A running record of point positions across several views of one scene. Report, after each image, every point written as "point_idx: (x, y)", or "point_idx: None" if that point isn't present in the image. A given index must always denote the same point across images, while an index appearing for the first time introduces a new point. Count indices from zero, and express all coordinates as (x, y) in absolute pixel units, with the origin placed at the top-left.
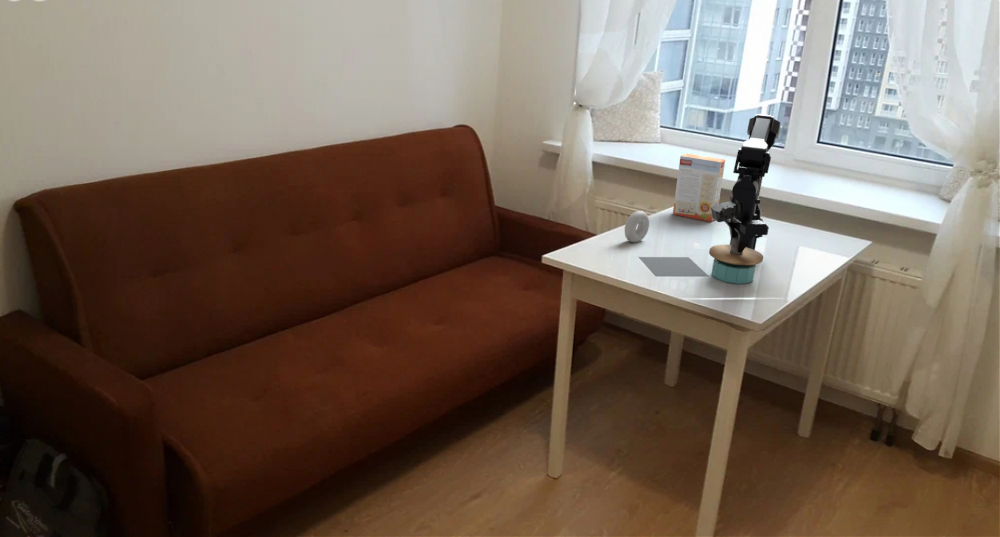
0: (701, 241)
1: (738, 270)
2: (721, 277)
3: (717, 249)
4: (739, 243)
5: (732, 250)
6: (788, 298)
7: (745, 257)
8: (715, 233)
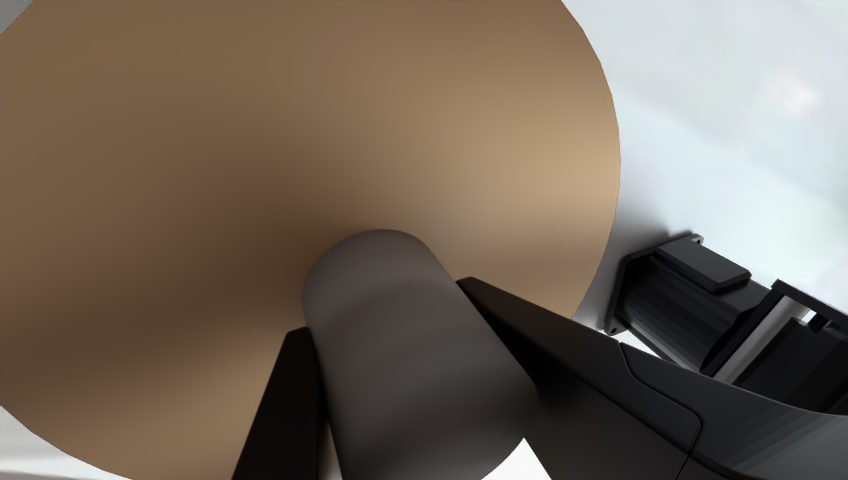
0: (809, 137)
1: None
2: None
3: (492, 88)
4: (236, 466)
5: (349, 268)
6: (4, 465)
7: (230, 373)
8: (828, 216)
